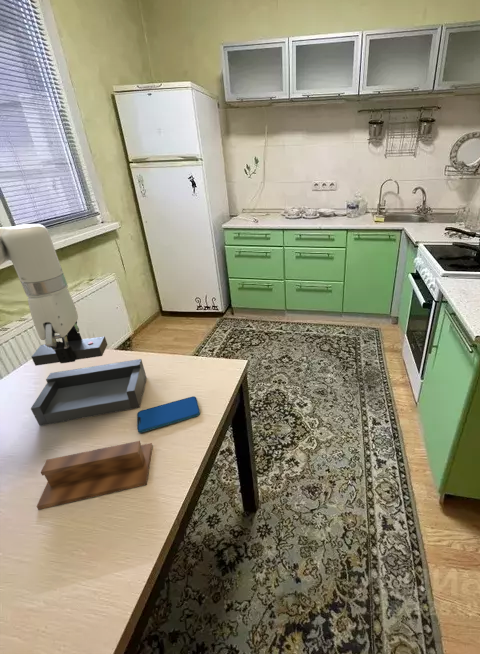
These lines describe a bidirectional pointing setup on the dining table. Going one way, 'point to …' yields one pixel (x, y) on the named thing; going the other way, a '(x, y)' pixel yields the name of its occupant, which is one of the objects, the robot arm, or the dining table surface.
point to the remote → (79, 347)
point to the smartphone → (167, 414)
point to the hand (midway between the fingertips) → (72, 354)
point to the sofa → (90, 392)
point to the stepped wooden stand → (95, 473)
